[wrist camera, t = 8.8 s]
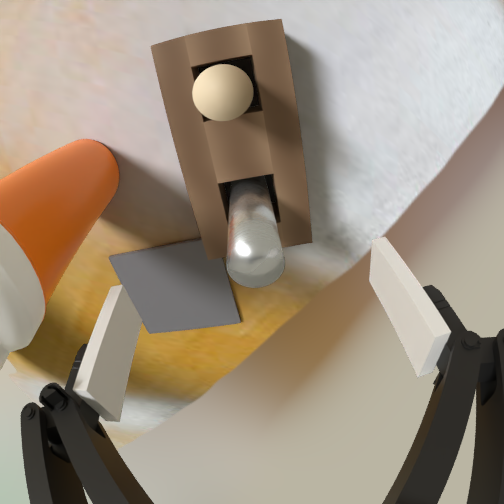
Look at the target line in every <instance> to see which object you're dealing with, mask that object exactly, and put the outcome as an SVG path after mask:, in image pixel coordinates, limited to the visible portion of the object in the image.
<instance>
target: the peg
mask: <svg viewBox="0 0 504 504" xmlns="http://www.w3.org/2000/svg"><path fill="white" fill-rule="evenodd" d="M226 267H227V271H228V274H229V275H230V277H231V278H232V279H233V280H234V281H235V282H236V283H238V284H240V285H242V286H245V287H250V288H259V287H264V286H267V285H269V284H271V283H273V282H275V281H276V280H277V279H278V278H279V277H280V276H281V274H282V273H283V270H284V267H285V259H284V255H283V250H282V246H281V242H280V237H279V233H278V228H277V224H276V220H275V216H274V211H273V207H272V203H271V199H270V195H269V190H268V186H267V182H266V179H265V177H264V175H261V176H256V177H250V178H244V179H239V180H234V181H231V189H230V205H229V222H228V241H227V261H226Z"/></svg>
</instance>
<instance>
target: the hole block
mask: <svg viewBox="0 0 504 504" xmlns="http://www.w3.org/2000/svg"><path fill="white" fill-rule="evenodd" d="M151 50H152V54H153V59H154V63H155V68H156V72H157V76H158V81H159V85H160V89H161V93H162V97H163V101H164V105H165V109H166V113H167V117H168V121H169V125H170V129H171V133H172V137H173V140H174V144H175V148H176V152H177V155H178V159H179V163H180V166H181V170H182V174H183V177H184V181H185V184H186V188H187V191H188V195H189V198H190V202H191V205H192V209H193V212H194V215H195V219H196V222H197V225H198V229H199V232H200V235H201V239H202V242H203V245H204V248H205V252H206V255H207V258H208V260H212V259H218V258H224V257H227V241H228V222H229V201H228V197H227V193H226V189H225V184H224V182H228V181H234V180H239V179H244V178H250V177H256V176H261V175H267V174H271V177H272V183H273V189H274V195H275V202H272V207H273V211H274V216H275V220H276V224H277V228H278V233H279V237H280V242H281V246H282V248H283V247H288V246H294V245H300V244H306V243H312V232H311V221H310V210H309V200H308V190H307V181H306V172H305V163H304V155H303V147H302V139H301V131H300V124H299V117H298V110H297V104H296V97H295V91H294V84H293V78H292V72H291V66H290V61H289V55H288V50H287V44H286V39H285V34H284V29H283V24H282V19H276V20H267V21H259V22H252V23H245V24H239V25H233V26H227V27H222V28H217V29H212V30H208V31H203V32H199V33H195V34H191V35H187V36H183V37H179V38H175V39H172V40H168V41H165V42H162V43H158V44H155V45H152V46H151ZM245 58H250V59H251V64H252V70H253V75H254V80H255V85H256V91H257V96H258V101H259V105H258V106H252V107H248V109H247V110H246V111H245V112H244V113H243V114H242V115H240V116H239V117H237V118H235V119H232V120H229V121H216V120H212V119H209V118H207V117H206V116H204V115H203V114H202V113H200V111H199V110H198V109H197V108H196V106H195V104H194V101H193V96H192V91H193V86H194V83H195V81H196V79H197V77H198V76H199V75H200V73H199V69H198V68H200V67H205V66H209V65H214V64H218V63H223V62H229V61H234V60H239V59H245Z"/></svg>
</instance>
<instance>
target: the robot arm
mask: <svg viewBox="0 0 504 504" xmlns="http://www.w3.org/2000/svg"><path fill="white" fill-rule="evenodd" d="M369 281H370V283H371V285H372V287H373V289H374V291H375V293H376V294H377V296H378V298H379V300H380V302H381V304H382V306H383V308H384V310H385V311H386V313H387V315H388V317H389V319H390V321H391V323H392V325H393V327H394V329H395V331H396V333H397V335H398V337H399V339H400V341H401V343H402V345H403V347H404V349H405V351H406V354H407V356H408V358H409V360H410V362H411V364H412V366H413V369H414V371H415V373H416V375H417V377H421V376H424V375H426V374H430V373H432V372H433V370H434V368H435V366H436V365H437V367H438V369H439V371H440V372H439V374H438V376H437V377H436V379H435V381H434V383H433V384H435V386H434V389H433V392H432V395H431V398H430V401H429V404H428V406H427V409H426V412H425V415H424V417H423V420H422V423H421V425H420V428H419V430H418V433H417V435H416V437H415V440H414V442H413V444H412V447H411V449H410V451H409V453H408V455H407V458H406V460H405V462H404V464H403V466H402V468H401V470H400V472H399V474H398V476H397V478H396V480H395V482H394V484H393V486H392V487H391V489H390V491H389V493H388V495H387V496H386V498H385V500H384V502H383V503H382V504H437V503H438V501H439V498H440V496H441V494H442V492H443V490H444V487H445V485H446V483H447V480H448V478H449V475H450V473H451V470H452V468H453V465H454V462H455V460H456V457H457V454H458V451H459V448H460V445H461V442H462V439H463V436H464V433H465V429H466V426H467V422H468V419H469V415H470V411H471V407H472V403H473V399H474V394H475V390H476V433H475V434H476V435H475V448H474V459H473V468H472V476H471V482H470V489H469V494H468V500H467V504H504V329H502V330H500V331H499V333H498V335H497V336H496V337H487V338H480V336H479V335H477V334H476V333H474V332H472V331H467V330H466V329H465V327H464V325H463V324H462V322H461V321H460V319H459V318H458V316H457V315H456V313H455V312H454V310H453V309H452V308H451V307H450V305H449V303H448V302H447V301H446V300H445V298H444V296H443V295H442V293H441V292H440V291H439V290H438V289H436V288H435V287H434V286H432V285H429V286H425V287H422V286H421V285H420V283H419V282H418V281H417V279H416V278H415V276H414V275H413V274H412V272H411V271H410V269H409V268H408V267H407V265H406V264H405V262H404V261H403V260H402V258H401V257H400V256H399V254H398V253H397V252H396V250H395V249H394V248H393V246H392V245H391V244H390V243H389V241H388V240H387V239H386V237H383V238H378V239H373V240H372V250H371V265H370V278H369ZM141 324H142V319H141V317H140V315H139V313H138V312H137V310H136V308H135V306H134V304H133V303H132V301H131V299H130V297H129V295H128V293H127V291H126V290H125V288H124V286H123V285H118V286H112V287H111V288H110V291H109V293H108V295H107V298H106V300H105V302H104V305H103V307H102V310H101V312H100V314H99V317H98V319H97V322H96V325H95V327H94V330H93V332H92V335H91V338H90V340H89V343H88V344H83V346H82V347H81V348H80V350H79V351H78V353H77V355H76V358H75V362H74V363H73V366H72V369H71V372H70V375H69V378H68V381H67V384H66V387H65V390H64V389H63V388H62V387H61V386H60V385H59V384H57V383H50V384H48V385H46V386H45V387H44V388H43V389H42V391H41V393H40V396H39V400H40V403H42V404H43V405H44V406H45V407H41V408H40V407H39V406H38V405H37V404H36V403H33V402H32V403H28V404H27V405H26V406H25V407H24V408H23V410H22V412H21V436H22V449H23V459H24V468H25V475H26V482H27V488H28V494H29V499H30V504H88V502H87V499H86V496H85V493H84V489H85V490H86V492H87V494H88V496H89V498H90V499H91V501H92V503H93V504H154V503H153V502H152V500H151V499H150V498H149V497H148V495H147V494H146V492H145V491H144V490H143V488H142V487H141V486H140V484H139V483H138V482H137V480H136V479H135V477H134V476H133V474H132V473H131V471H130V470H129V468H128V467H127V465H126V464H125V462H124V461H123V459H122V458H121V456H120V455H119V453H118V451H117V450H116V448H115V447H114V445H113V443H112V442H111V440H110V438H109V436H108V435H107V433H106V431H105V429H104V428H103V426H102V424H101V423H100V422H99V421H98V420H99V416H101V417H102V418H103V419H105V420H106V421H115V422H120V417H121V412H122V407H123V402H124V397H125V392H126V387H127V382H128V378H129V373H130V369H131V364H132V360H133V356H134V352H135V348H136V344H137V340H138V336H139V332H140V328H141ZM83 487H84V489H83Z"/></svg>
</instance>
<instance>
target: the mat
mask: <svg viewBox="0 0 504 504" xmlns="http://www.w3.org/2000/svg"><path fill="white" fill-rule="evenodd" d="M109 260H110V262H111V264H112V266H113V268H114V270H115V272H116V274H117V276H118V278H119V280H120V282H121V284H122V285H123V286H124V288H125V290H126V291H127V293H128V295H129V297H130V299H131V301H132V303H133V304H134V306H135V308H136V310H137V312H138V313H139V315H140V317H141V319H142V322H143V324H144V326H145V327H146V329H147V331H148V332H149V334H151V333H161V332H171V331H181V330H190V329H198V328H206V327H214V326H222V325H229V324H237V323H241V320H240V316H239V313H238V309H237V306H236V303H235V299H234V296H233V292H232V289H231V285H230V282H229V279H228V275H227V272H226V268H225V264H224V261H223V258H218V259H212V260H208V258H207V255H206V252H205V248H204V245H203V242H202V239H201V238H200V239H194V240H189V241H184V242H178V243H173V244H168V245H162V246H157V247H152V248H147V249H142V250H137V251H132V252H127V253H122V254H117V255H112V256H109Z"/></svg>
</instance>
